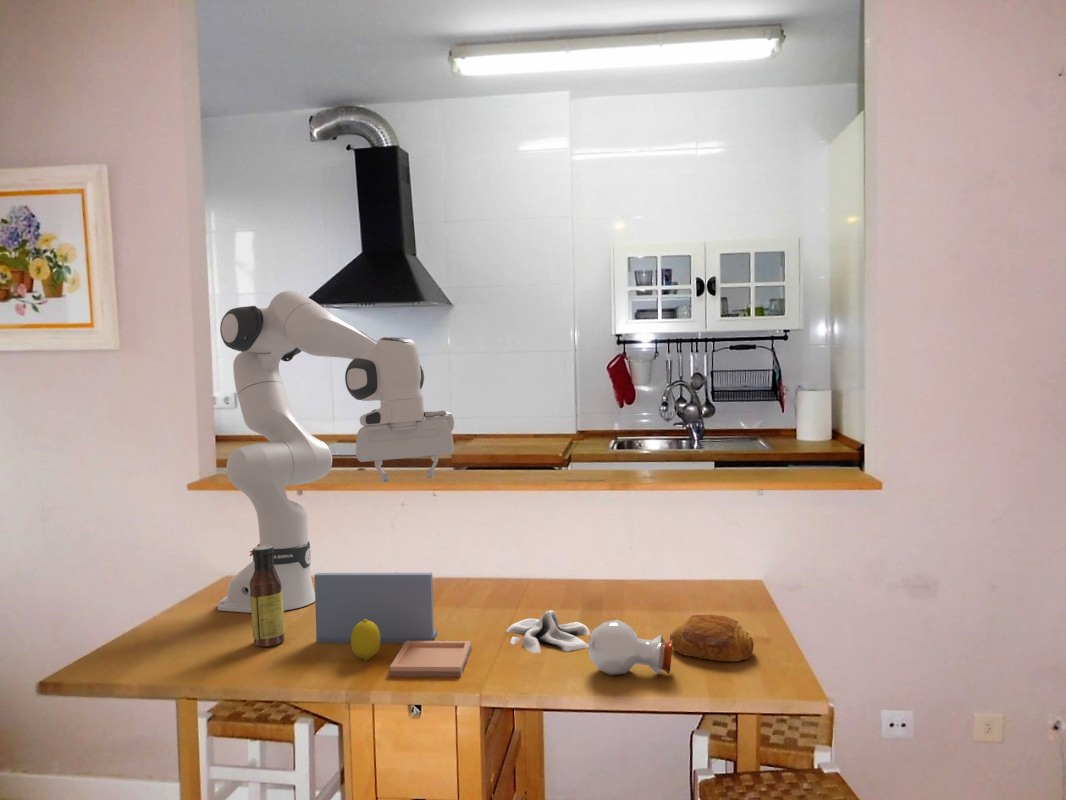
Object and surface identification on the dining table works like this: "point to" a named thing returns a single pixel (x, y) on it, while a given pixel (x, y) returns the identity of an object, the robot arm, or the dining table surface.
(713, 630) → the croissant
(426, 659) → the dish
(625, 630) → the potion bottle
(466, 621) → the dining table surface
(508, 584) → the dining table surface
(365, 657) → the lemon
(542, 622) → the cloth
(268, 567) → the sauce bottle
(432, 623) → the screen
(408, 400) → the robot arm
